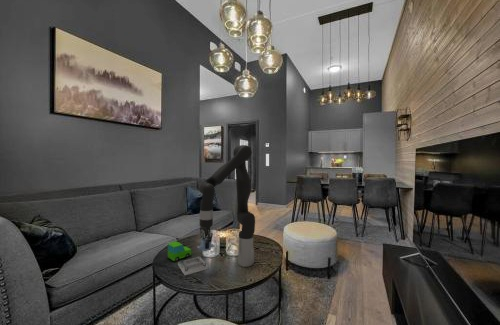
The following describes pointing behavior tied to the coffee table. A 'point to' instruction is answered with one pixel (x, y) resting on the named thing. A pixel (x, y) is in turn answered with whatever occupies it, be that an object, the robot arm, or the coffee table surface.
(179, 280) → the coffee table surface
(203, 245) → the block
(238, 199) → the robot arm
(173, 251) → the toy car
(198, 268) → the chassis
